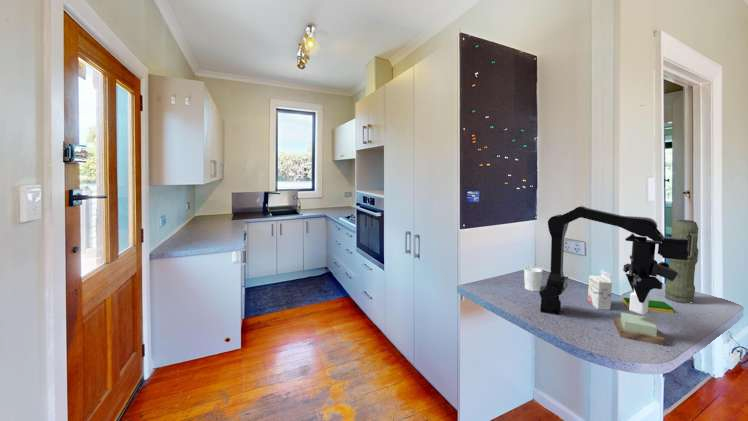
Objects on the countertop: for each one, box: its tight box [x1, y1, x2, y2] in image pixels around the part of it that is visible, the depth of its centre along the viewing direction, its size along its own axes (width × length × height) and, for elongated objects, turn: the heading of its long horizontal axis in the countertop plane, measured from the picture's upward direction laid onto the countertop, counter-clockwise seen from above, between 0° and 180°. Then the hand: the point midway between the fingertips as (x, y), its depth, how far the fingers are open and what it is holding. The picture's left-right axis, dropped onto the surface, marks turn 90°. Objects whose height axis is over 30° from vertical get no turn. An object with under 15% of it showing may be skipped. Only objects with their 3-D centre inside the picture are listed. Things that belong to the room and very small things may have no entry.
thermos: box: [664, 219, 699, 304], centre depth 126 cm, size 9×12×35 cm
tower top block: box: [620, 312, 658, 336], centre depth 101 cm, size 8×8×3 cm
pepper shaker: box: [628, 290, 650, 315], centre depth 100 cm, size 4×4×10 cm
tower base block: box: [613, 317, 665, 347], centre depth 101 cm, size 11×11×3 cm
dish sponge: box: [622, 297, 674, 314], centre depth 122 cm, size 7×14×2 cm, turn 67°
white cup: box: [523, 266, 543, 292], centre depth 143 cm, size 8×8×10 cm
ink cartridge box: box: [587, 269, 613, 310], centre depth 123 cm, size 9×5×15 cm, turn 168°
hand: (639, 299), depth 100 cm, fingers closed on pepper shaker, 5 cm apart
